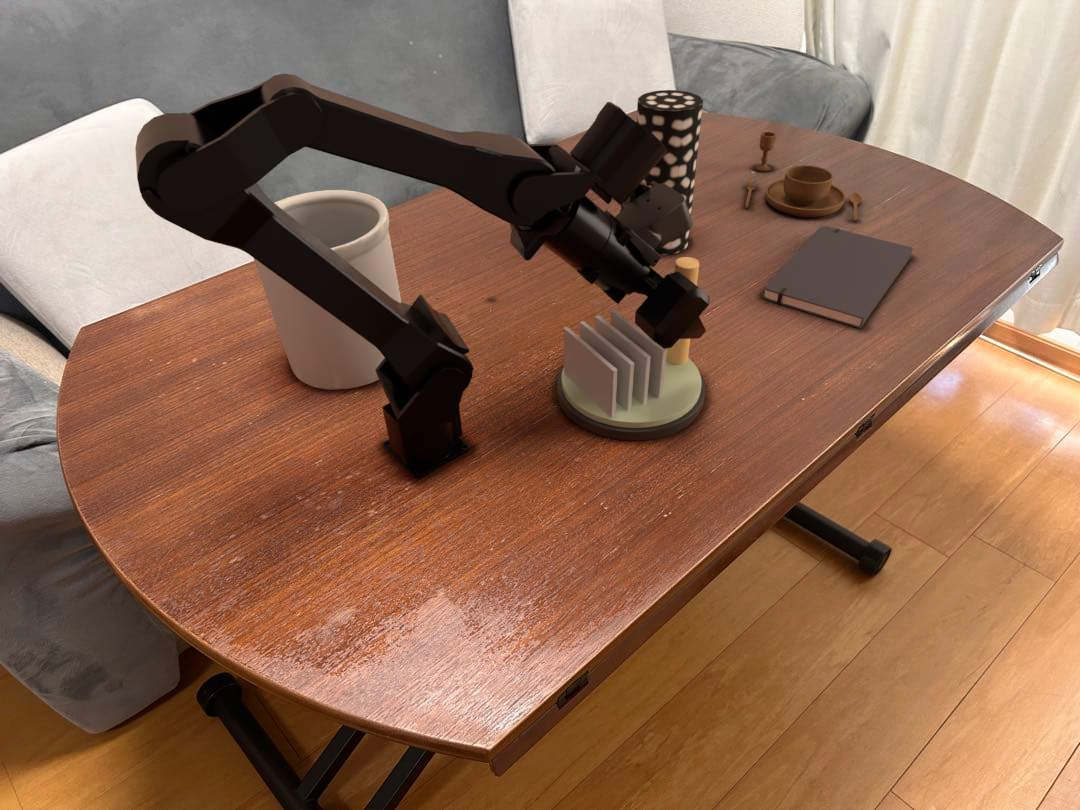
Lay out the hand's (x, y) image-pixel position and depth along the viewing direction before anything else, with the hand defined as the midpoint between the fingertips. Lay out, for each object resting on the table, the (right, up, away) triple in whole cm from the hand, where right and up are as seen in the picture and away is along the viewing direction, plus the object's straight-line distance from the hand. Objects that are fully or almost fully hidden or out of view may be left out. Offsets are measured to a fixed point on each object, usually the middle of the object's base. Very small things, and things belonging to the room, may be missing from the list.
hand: (677, 312), depth 80 cm
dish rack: (-5, -7, +2) cm, 9 cm away
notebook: (+25, +7, +21) cm, 33 cm away
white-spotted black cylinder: (+3, +14, +30) cm, 33 cm away
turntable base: (-5, -8, +3) cm, 10 cm away
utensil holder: (-37, -4, +10) cm, 39 cm away
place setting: (+28, +24, +41) cm, 55 cm away
